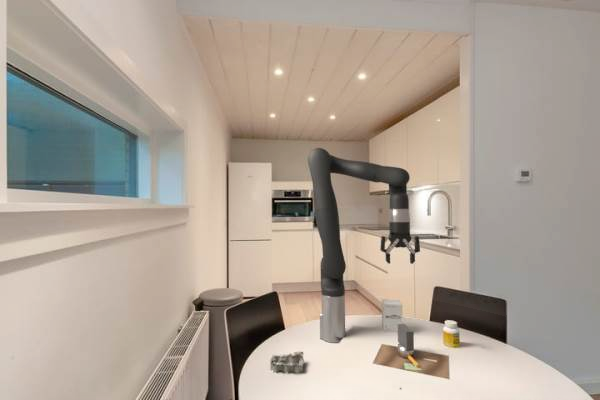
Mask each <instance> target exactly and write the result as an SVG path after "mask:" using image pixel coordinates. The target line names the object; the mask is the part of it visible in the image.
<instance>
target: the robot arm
mask: <svg viewBox="0 0 600 400" xmlns="http://www.w3.org/2000/svg"><path fill="white" fill-rule="evenodd" d="M307 164H308V168H309V173H310V177H311V182H312V189H313V191H312V193H313V194H312V195H313V196H312V197H313V206H314V209H313V210H314V216H315V222H316V227H317V231H318V234H319V237H320V242H321V245H322V258H321V260H320V288H321V289H320V290H321V312H320V314H319V339H320V340H323V341H325V342H328V343H341V342H342V340H343V339H344V338H345V337H346V297H345V296H346V292H345V291H346V289H345V284H344V274H345V272H346V268H347V267H346V260H345V255H344V253H343V249H342V248H343V247H342V243H341V242H342V241H341V227H340V216H339V209H338V208H339V207H338V202H337V198H336V194H335V191H334V187H333V184H332V176H331V174H338V175H343V176H348V177H352V178H356V179H360V180H363V181H367V182H371V183H372V182H373V183H377V184H378V183H383V184H387V185H388V190H389V215H388V223H389V224H388V225H389V226H388V227H389V228H388V229H389V230H388V232H389V234H388V236H385V235H381V236H380V247H379V248H380V251H381V252H382V253H384V254H385V262H386V263H387V264H388V265H389V264H391V254H390V253H391V252H392V251H393V249H394V248H396V249H397V248H402V249H405V248H406V249H407V250H408V251H409V263H410V264H414V263H415V262H416V257H415V256H416V254H417V253H419V252H421V248H420V247H421V246H420V237H419V236H418V235H414V236H411V218H410V217H411V216H410V208H409V207H410V201H409V200H410V199H409V195H408V189H407V186H408V183H409V181H410V178H411V177H410V174H409V172H408V171H407V170H406V169H405V168H402V167H397V166H389V165H388V166H387V165H381V164H377V163H373V162H368V161H362V160H352V159H344V158H341V157H337V156H335V155H333V154H330V152H328V151H327V150H326V149H325V148H323V147H316V148H313V149H312V150H311V151H310V152H309V154H308V157H307ZM387 241H389V242H390V243H389V244H388V246H387V248H386V243H387ZM411 241H412V242H414V244H413V245H414V248H413V247H412V246H411V244H410V243H411ZM385 248H386V249H385Z"/></svg>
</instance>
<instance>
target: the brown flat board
mask: <svg viewBox="0 0 600 400" xmlns="http://www.w3.org/2000/svg"><path fill="white" fill-rule="evenodd" d="M449 357H450V356H449V355H448V354H442V353H441V354H440V353H434V352H429V351H424V350H419V349H414V357H413V359H414V360H415V361H416V362H417V363H418V364H419V367H416V366H415V365H414V364H413V363H412V361H411V360H410V359H407V358H402V357H400V356H399V355H398V345H397V346H396V345H390V344H385V343H382V344H381V345H380V347H379V349H378V351H377V353H376V354H375V357H374V359H373V362H372V364H373V365H378V366H383V367H386V368H387V367H388V368H394V369H397V370H402V371H408V372H412V373H417V374H422V375H427V376H432V377H436V378H442V379H447V380H450V361H449V359H450V358H449Z"/></svg>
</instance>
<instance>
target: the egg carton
mask: <svg viewBox="0 0 600 400" xmlns="http://www.w3.org/2000/svg"><path fill="white" fill-rule="evenodd" d="M304 354H305V353H304V351H294V353H289V354H288V353H287V354H284V353H283V354H279V355H278V354H272V356H271V358H270V359H269V362H270V364H269V365H270V366H269V367H270V371H272V370H273V371H272V372H273V373H275V372H277V371H278V372H280V371H279V370H282V371H281V372H283V373H284V372H285V373H284V374H287V373H286V372H288V373H290V372H293V373H295V374H299V373H301V371H302V372H303V370H304V369H303V367H304V362H305V360H304ZM288 362H289V363H288ZM287 363H288V364H287ZM278 372H277V373H278Z"/></svg>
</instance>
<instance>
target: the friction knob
mask: <svg viewBox="0 0 600 400" xmlns="http://www.w3.org/2000/svg"><path fill="white" fill-rule="evenodd" d="M414 335H415V334H414V330H413V329H411V328H410V327H409V326H408V325H406V324H405V323H402V324H398V332H397V342H398V344H397V347H398V355H399V356H400V357H402V358H407V359H410V360H411V361H412V363H413V364H414V365H415V366H416V367H419V364H418V363H417V362H416V361H415V360H414V359H413V357H414V350H415V345H414V344H415V342H414V341H415V339H414V338H415V337H414Z"/></svg>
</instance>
